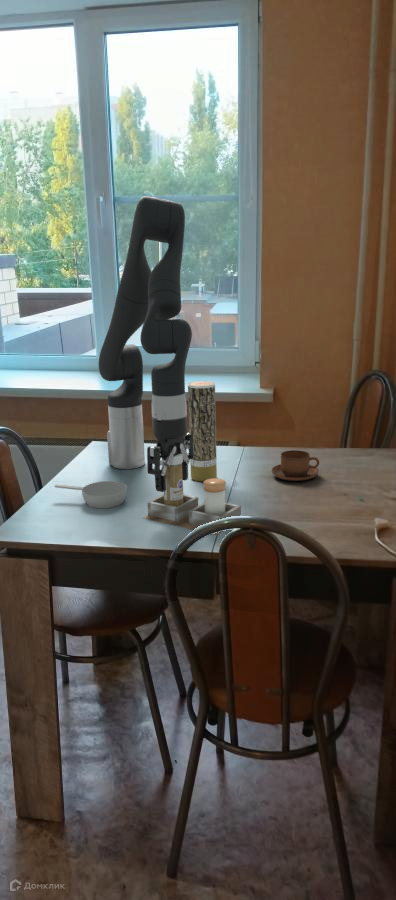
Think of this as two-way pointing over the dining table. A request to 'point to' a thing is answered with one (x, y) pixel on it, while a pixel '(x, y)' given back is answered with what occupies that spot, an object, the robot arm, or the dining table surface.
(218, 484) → the white lotion bottle
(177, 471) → the sprinkles bottle
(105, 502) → the small pan
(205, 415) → the paper tube
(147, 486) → the dining table surface
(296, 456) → the cup and saucer
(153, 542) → the dining table surface
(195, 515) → the board
